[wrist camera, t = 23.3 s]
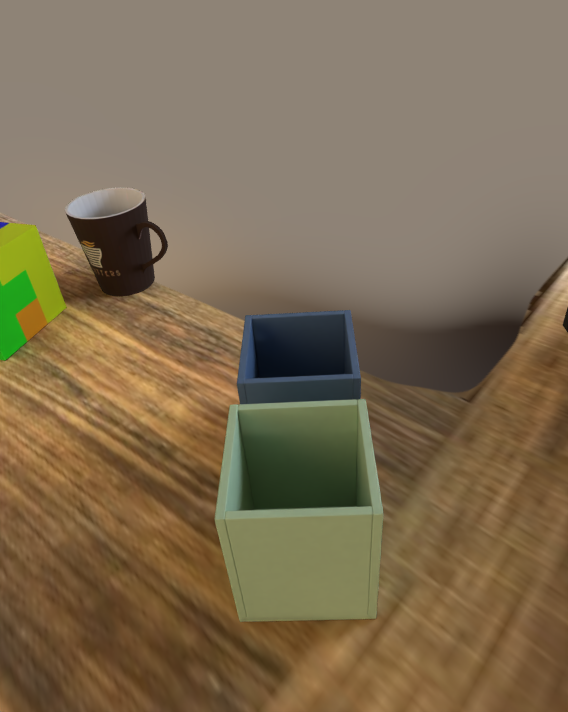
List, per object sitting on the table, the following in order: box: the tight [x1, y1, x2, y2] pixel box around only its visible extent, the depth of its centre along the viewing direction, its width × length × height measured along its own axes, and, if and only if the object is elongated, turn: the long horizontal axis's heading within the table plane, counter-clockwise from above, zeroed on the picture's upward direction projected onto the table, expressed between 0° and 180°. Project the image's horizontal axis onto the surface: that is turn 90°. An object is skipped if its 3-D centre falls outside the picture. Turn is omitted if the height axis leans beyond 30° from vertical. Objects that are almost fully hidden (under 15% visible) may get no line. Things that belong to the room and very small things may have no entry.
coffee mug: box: [65, 188, 168, 296], centre depth 61 cm, size 12×9×10 cm
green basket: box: [215, 399, 383, 622], centre depth 32 cm, size 8×8×10 cm
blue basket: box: [237, 310, 361, 404], centre depth 41 cm, size 8×8×9 cm
